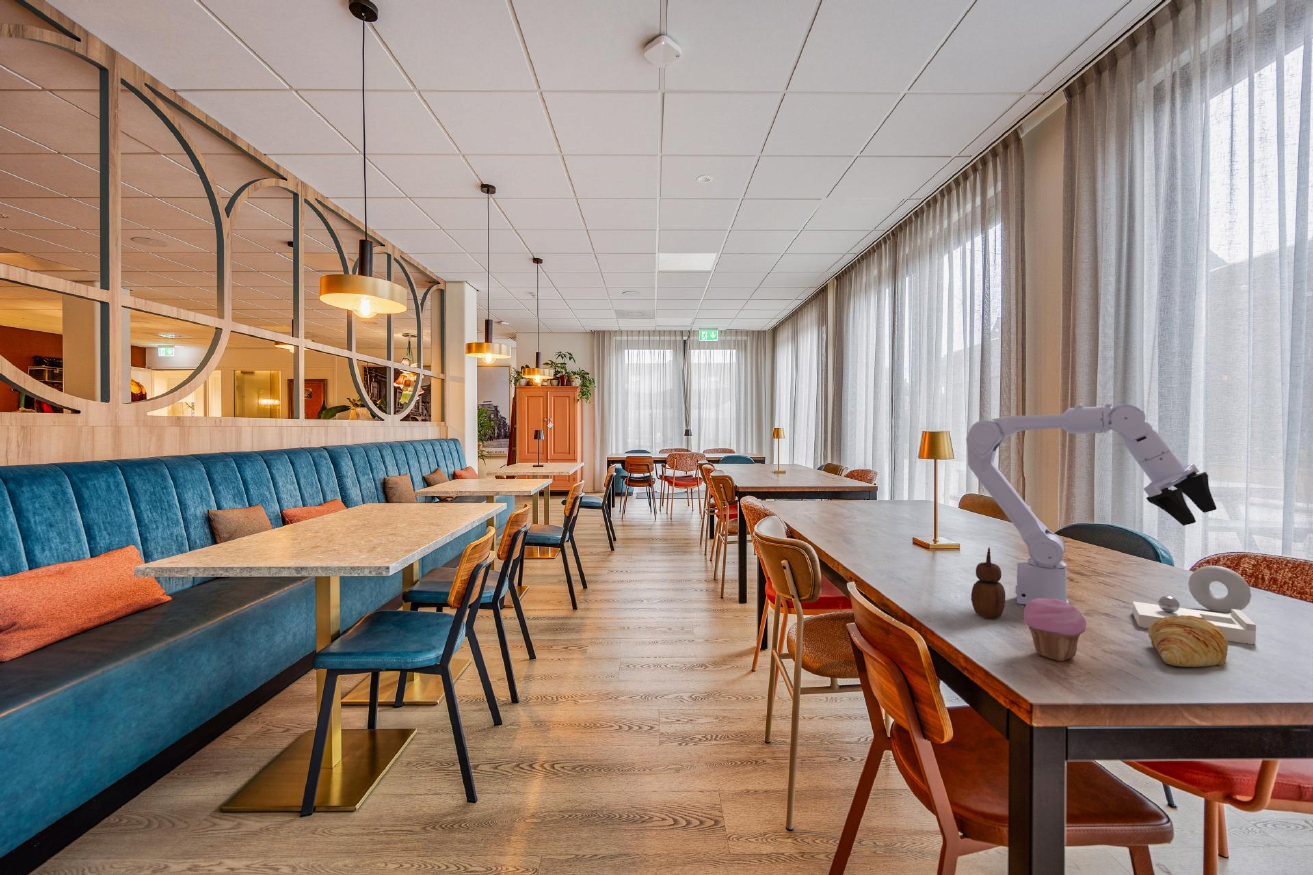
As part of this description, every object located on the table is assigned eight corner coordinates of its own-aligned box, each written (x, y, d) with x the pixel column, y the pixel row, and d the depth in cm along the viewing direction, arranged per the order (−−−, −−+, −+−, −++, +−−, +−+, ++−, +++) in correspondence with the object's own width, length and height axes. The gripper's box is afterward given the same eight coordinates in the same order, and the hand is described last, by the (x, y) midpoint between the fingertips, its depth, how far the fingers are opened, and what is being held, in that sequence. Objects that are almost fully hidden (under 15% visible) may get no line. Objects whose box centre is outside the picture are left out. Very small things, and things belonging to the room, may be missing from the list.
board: (1139, 626, 109) (1139, 608, 109) (1132, 612, 117) (1132, 595, 117) (1255, 644, 99) (1255, 624, 99) (1239, 628, 107) (1240, 609, 107)
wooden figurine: (998, 623, 111) (998, 550, 110) (967, 616, 115) (967, 545, 115) (1009, 616, 115) (1009, 545, 115) (979, 609, 119) (979, 541, 119)
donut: (1254, 618, 113) (1255, 570, 113) (1245, 620, 112) (1245, 572, 111) (1193, 604, 122) (1193, 560, 122) (1184, 606, 121) (1184, 561, 121)
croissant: (1194, 697, 87) (1228, 662, 84) (1123, 650, 94) (1151, 616, 91) (1222, 661, 99) (1253, 629, 96) (1157, 622, 107) (1184, 591, 103)
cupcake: (1068, 671, 89) (1069, 610, 89) (1012, 652, 97) (1013, 596, 96) (1095, 659, 93) (1096, 601, 93) (1039, 642, 101) (1040, 588, 101)
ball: (1159, 612, 109) (1159, 596, 109) (1156, 608, 112) (1156, 593, 112) (1181, 615, 107) (1181, 599, 107) (1178, 611, 110) (1178, 595, 110)
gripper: (1154, 459, 105) (1202, 524, 101) (1194, 438, 110) (1242, 499, 106) (1118, 472, 112) (1163, 533, 108) (1158, 452, 117) (1202, 509, 113)
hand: (1200, 517), depth 107 cm, fingers open, 7 cm apart
